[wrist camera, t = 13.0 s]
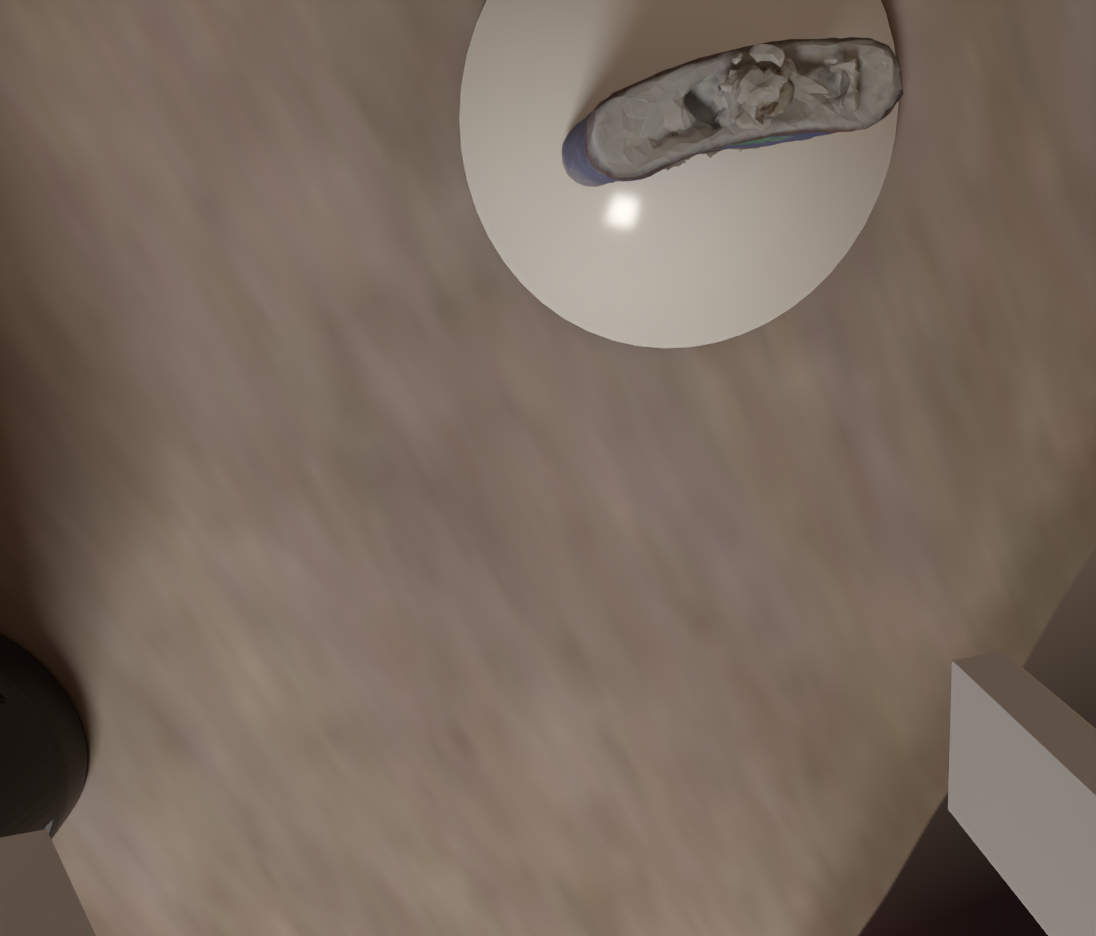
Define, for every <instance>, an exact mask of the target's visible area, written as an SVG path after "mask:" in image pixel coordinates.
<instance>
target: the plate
mask: <svg viewBox="0 0 1096 936" xmlns="http://www.w3.org/2000/svg"><path fill="white" fill-rule="evenodd" d="M848 37H857V38H871V39H874V40H876V41H878V42H881V43H884V44H886V45H889V47H890V48H891V50H892V51H893V53H894V54H895V48H894V42H893V38H892V34H891V30H890V27H889V23H888V19H887V15H886V12H885V9H884V7H883V4H882V2H881V0H487V1H486V3H485V5H484V8H483V10H482V12H481V14H480V16H479V19H478V21H477V23H476V27H475V30H474V33H473V36H472V40H471V43H470V46H469V49H468V53H467V57H466V63H465V68H464V74H463V79H462V85H461V98H460V116H459V122H460V137H461V151H462V157H463V162H464V168H465V173H466V178H467V183H468V186H469V189H470V192H471V195H472V198H473V202H474V205H475V208H476V211H477V213H478V215H479V217H480V220H481V222H482V224H483V226H484V228H485V230H486V233H487V235H488V237H489V239H490V240H491V242H492V243H493V245H494V247H495V248H496V250H497V251H498V253H499V255H500V256H501V258H502V260H503V261H504V262H505V264H506V265H507V266H508V267H509V269H510V270H511V271H512V272H513V274H514V275H515V276H516V277H517V278H518V280H519V281H520V282H521V283H522V284H523V285H524V286H525V287H526V288H527V289H528V290H529V291H530V292H531V293H532V294H533V295H534V296H535V297H536V298H537V299H539V300H540V301H541V302H542V303H543V304H544V305H546V306H547V307H549V308H550V309H551V310H553V311H554V312H556V313H557V314H558V315H560V316H561V317H562V318H564V319H566V320H568V321H570V322H571V323H573V324H575V325H577V326H579V327H581V328H583V329H584V330H586V331H589V332H591V333H594V334H597V335H599V336H602V337H605V338H607V339H610V340H613V341H618V342H622V343H627V344H631V345H635V346H643V347H654V348H683V347H694V346H699V345H705V344H711V343H716V342H719V341H723V340H726V339H729V338H732V337H736V336H739V335H742V334H744V333H746V332H748V331H751V330H753V329H755V328H757V327H759V326H762V325H764V324H766V323H768V322H769V321H771V320H773V319H774V318H776V317H778V316H779V315H781V314H782V313H784V312H786V311H787V310H789V309H790V308H792V307H793V306H794V305H795V304H797V303H798V302H799V301H801V300H802V299H803V298H804V297H806V296H807V295H808V294H809V293H811V292H812V291H813V290H814V289H815V288H816V287H817V286H818V285H819V284H820V283H821V282H822V281H823V280H824V279H825V278H826V277H827V276H828V275H829V274H830V273H831V272H832V271H833V269H834V268H835V267H836V266H837V264H838V263H839V262H840V261H841V259H842V258H843V257H844V256H845V254H846V253H847V252H848V251H849V249H850V248H851V246H852V245H853V243H854V241H855V240H856V238H857V237H858V235H859V233H860V232H861V230H862V229H863V227H864V225H865V224H866V222H867V220H868V218H869V215H870V213H871V211H872V209H873V207H874V205H875V203H876V201H877V199H878V197H879V194H880V191H881V188H882V185H883V182H884V179H885V176H886V173H887V171H888V168H889V163H890V159H891V154H892V150H893V145H894V141H895V135H896V125H897V116H898V106H899V105H898V102H897V103H896V105H895V106H894V108H893V110H892V111H891V113H890V114H888V115H887V116H886V117H885V118H884V119H882V120H881V121H879V122H878V123H876V124H874V125H872V126H871V127H869V128H867V129H862V130H856V131H852V132H837V133H833V134H828V135H823V136H815V137H813V138H811V139H807V140H802V141H792V142H784V143H779V144H775V145H771V146H765V147H760V148H757V149H753V148H751V149H743V150H742V151H741V152H739V150H736V149H725V150H722V151H720V152H718V153H716V154H715V155H713V156H712V157H711V158H710V157H709V156H708V155H707V154H697V155H695V156H693V157H691V158H690V159H689V160H685V163H682V164H681V165H680V166H674V167H672V168H670V169H669V170H667V169H663V170H661V171H659V172H657V173H655V174H654V175H652V176H650V177H647V178H644V179H641V180H634V181H625V182H622V181H618V182H616V181H615V182H614V183H607V184H605V185H602V186H597V187H592V186H583V185H581V184H579V183H576V182H575V181H574V180H573V179H572V178H571V177H569V176H568V175H567V173H566V170H565V168H564V166H563V163H562V145H563V142H564V140H565V138H566V137H567V135H568V134H569V132H570V131H571V130H572V129H573V128H574V126H575V125H576V124H578V123H579V122H581V121H582V120H583V119H585V118H586V117H587V115H588V114H590V113H591V112H592V111H593V109H594V108H595V107H596V106H597V105H598V104H599V103H600V102H601V101H603V100H604V99H606V98H608V97H609V96H610V95H611V94H612V93H614V92H616V91H618V90H621V89H623V88H625V87H627V86H630V85H632V84H634V83H637V82H639V81H641V80H643V79H646V78H648V77H650V76H652V75H654V74H656V73H659V72H661V71H663V70H666V69H669V68H673V67H676V66H678V65H681V64H684V63H686V62H689V61H692V60H695V59H697V58H701V57H705V56H709V55H713V54H716V53H721V52H725V51H730V50H734V49H738V48H741V47H745V46H750V45H755V44H761V43H766V42H771V41H782V40H788V39H826V38H840V39H842V38H848ZM895 56H896V55H895Z"/></svg>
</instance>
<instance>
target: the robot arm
mask: <svg viewBox="0 0 1096 936" xmlns="http://www.w3.org/2000/svg"><path fill="white" fill-rule="evenodd" d="M86 772H87V748H86V741H85V736H84V732H83V729H82V726H81V723H80V720H79V718H78V715H77V713H76V711H75V709H74V707H73V705H72V703H71V702H70V700H69V698H68V697H67V695H66V694H65V692H64V691H63V689H62V688H61V686H60V685H59V684H58V683H57V682H56V680H55V679H54V678H53V677H52V676H51V675H50V673H49V672H48V671H47V670H46V669H45V668H44V667H43V666H42V665H41V664H40V663H39V662H37V661H36V660H35V659H34V658H33V657H32V656H30V655H29V654H28V653H27V652H26V651H24V650H23V649H21V648H20V647H19V646H17V645H16V644H14V643H13V642H11V641H10V640H8V639H7V638H5V637H3V636H2V635H0V936H96V935H95V933H94V931H93V929H92V927H91V924H90V922H89V920H88V918H87V916H86V914H85V911H84V909H83V907H82V905H81V903H80V901H79V898H78V896H77V894H76V892H75V890H74V888H73V885H72V883H71V881H70V879H69V877H68V875H67V872H66V870H65V868H64V866H63V864H62V862H61V859H60V857H59V855H58V853H57V851H56V849H55V846H54V844H53V842H52V838H53V837H54V835H55V834H56V833H57V831H58V830H59V828H60V827H61V826H62V824H63V823H64V821H65V820H66V819H67V817H68V816H69V814H70V813H71V811H72V810H73V808H74V807H75V805H76V803H77V801H78V799H79V797H80V795H81V792H82V789H83V786H84V782H85V778H86ZM948 809H949V811H950V812H951V813H952V815H953V816H954V817H955V818H956V819H957V821H958V822H959V823H960V825H961V826H962V827H963V829H964V830H965V831H966V832H967V833H968V835H969V836H970V837H971V839H972V840H973V841H974V842H975V844H976V845H977V846H978V847H979V849H980V850H981V851H982V853H983V854H984V855H985V856H986V858H987V859H988V860H989V861H990V863H991V864H992V865H993V866H994V868H995V869H996V870H997V871H998V872H999V874H1000V875H1001V876H1002V878H1003V879H1004V880H1005V882H1006V883H1007V884H1008V885H1009V887H1010V888H1011V889H1012V890H1013V891H1014V893H1015V894H1016V895H1017V896H1018V898H1019V899H1020V900H1021V902H1022V903H1023V904H1024V905H1025V907H1026V908H1027V909H1028V910H1029V912H1030V913H1031V914H1032V915H1033V917H1034V918H1035V919H1036V921H1037V922H1038V923H1039V924H1040V926H1041V927H1042V928H1043V929H1044V931H1045V932H1046V933H1047V934H1048V936H1096V729H1095V728H1094V727H1093V726H1092V725H1090V724H1089V723H1088V722H1087V721H1086V720H1084V719H1083V718H1082V717H1081V716H1079V715H1078V714H1077V713H1076V712H1075V711H1073V710H1072V709H1071V708H1070V707H1069V706H1068V705H1066V704H1065V703H1064V702H1063V701H1062V700H1060V699H1059V698H1058V697H1057V696H1055V695H1054V694H1053V693H1052V692H1051V691H1050V690H1048V689H1047V688H1046V687H1045V686H1044V685H1042V684H1041V683H1040V682H1039V681H1038V680H1036V679H1035V678H1034V677H1033V676H1032V675H1030V674H1029V673H1028V672H1027V671H1026V670H1024V669H1023V668H1022V667H1021V666H1020V665H1018V664H1017V663H1016V662H1015V661H1014V660H1012V659H1011V658H1010V657H1009V656H1008V655H1006V654H1005V653H1004V652H1003V651H1001V652H995V653H990V654H985V655H979V656H974V657H969V658H963V659H958V660H952V685H951V720H950V756H949V791H948Z"/></svg>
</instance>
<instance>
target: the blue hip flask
mask: <svg viewBox="0 0 1096 936" xmlns="http://www.w3.org/2000/svg"><path fill="white" fill-rule="evenodd" d="M902 95H903V89H902V81H901V68H900V65H899V62H898V60H897V58H896V56H895V54H894V53H893V51H892V50H891V48H890V47H889V45H886V44H884V43H881V42H878V41H876V40H874V39H871V38H857V37H848V38H842V39H840V38H826V39H788V40H782V41H771V42H766V43H761V44H755V45H750V46H745V47H741V48H738V49H734V50H730V51H725V52H721V53H716V54H713V55H709V56H705V57H701V58H697V59H695V60H692V61H689V62H686V63H684V64H681V65H678V66H676V67H673V68H669V69H666V70H663V71H661V72H659V73H656V74H654V75H652V76H650V77H648V78H646V79H643V80H641V81H639V82H637V83H634V84H632V85H630V86H627V87H625V88H623V89H621V90H618V91H616V92H614V93H612V94H611V95H610V96H609V97H608V98H606V99H604V100H603V101H601V102H600V103H599V104H598V105H597V106H596V107H595V108H594V109H593V111H592V112H591V113H590V114H588V115H587V117H586V118H585V119H583V120H582V121H581V122H579V123H578V124H576V125H575V126H574V128H573V129H572V130H571V131H570V132H569V134H568V135H567V137H566V138H565V140H564V142H563V145H562V163H563V166H564V168H565V170H566V173H567V175H568V176H569V177H571V178H572V179H573V180H574V181H575V182H576V183H579V184H581V185H583V186H592V187H597V186H602V185H605V184H607V183H614V182H615V181H616V182H618V181H622V182H625V181H634V180H641V179H644V178H647V177H650V176H652V175H654V174H655V173H657V172H659V171H661V170H663V169H667V170H669V169H670V168H672V167H674V166H680V165H681V164H682V163H685V160H689V159H690V158H691V157H693V156H695V155H697V154H707V155H708V156H709V157H710V158H711V157H712V156H713V155H715V154H716V153H718V152H720V151H722V150H725V149H736V150H739V152H741V151H742V150H743V149H751V148H753V149H757V148H760V147H765V146H771V145H775V144H779V143H784V142H792V141H802V140H807V139H811V138H813V137H815V136H823V135H828V134H833V133H837V132H852V131H856V130H862V129H867V128H869V127H871V126H872V125H874V124H876V123H878V122H879V121H881V120H882V119H884V118H885V117H886V116H887V115H888V114H890V113H891V111H892V110H893V108H894V106H895V105H896V103H897V102H898V101H899V99H900V98H901V97H902Z"/></svg>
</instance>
